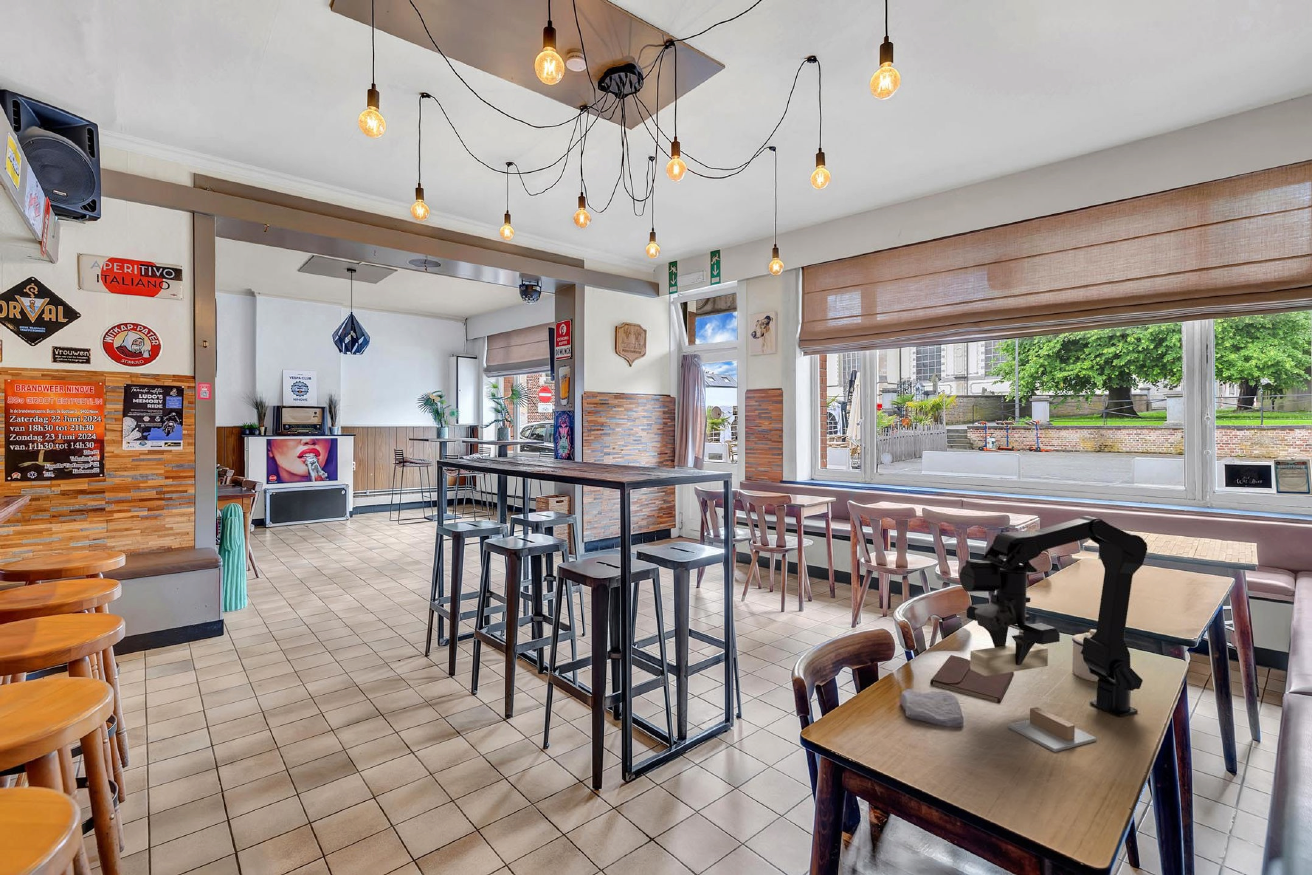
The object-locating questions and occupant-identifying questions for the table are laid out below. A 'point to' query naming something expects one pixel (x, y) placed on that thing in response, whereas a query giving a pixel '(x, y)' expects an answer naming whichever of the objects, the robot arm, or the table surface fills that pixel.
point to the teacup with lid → (1081, 657)
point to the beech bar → (1006, 659)
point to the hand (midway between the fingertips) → (1009, 661)
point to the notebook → (971, 680)
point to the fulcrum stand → (1051, 731)
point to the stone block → (933, 707)
